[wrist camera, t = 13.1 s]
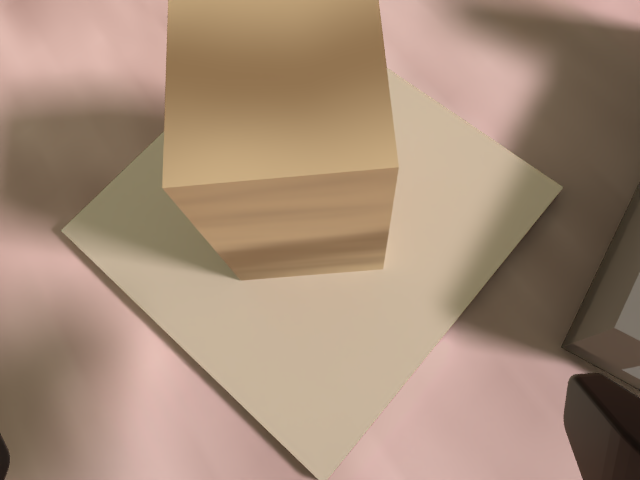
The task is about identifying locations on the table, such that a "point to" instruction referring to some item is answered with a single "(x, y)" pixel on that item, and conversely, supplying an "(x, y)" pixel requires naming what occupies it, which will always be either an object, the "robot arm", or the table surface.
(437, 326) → the tile
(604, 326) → the grey walled tray
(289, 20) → the block
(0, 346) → the table surface
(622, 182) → the table surface
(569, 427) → the robot arm
